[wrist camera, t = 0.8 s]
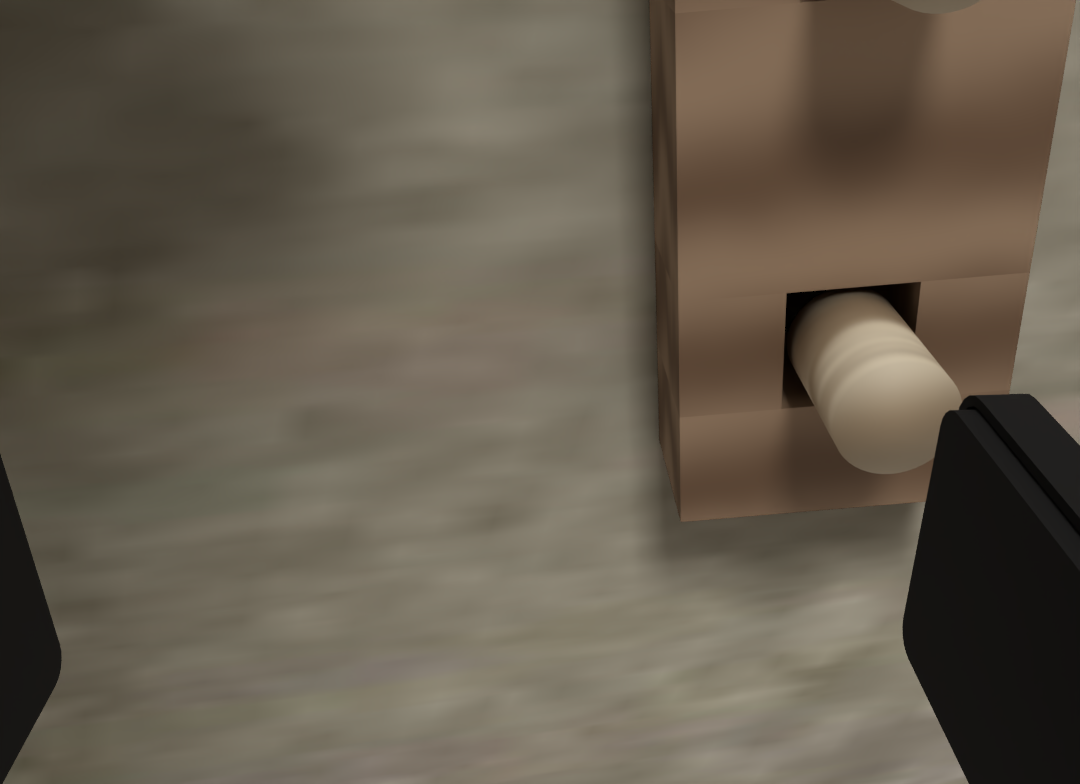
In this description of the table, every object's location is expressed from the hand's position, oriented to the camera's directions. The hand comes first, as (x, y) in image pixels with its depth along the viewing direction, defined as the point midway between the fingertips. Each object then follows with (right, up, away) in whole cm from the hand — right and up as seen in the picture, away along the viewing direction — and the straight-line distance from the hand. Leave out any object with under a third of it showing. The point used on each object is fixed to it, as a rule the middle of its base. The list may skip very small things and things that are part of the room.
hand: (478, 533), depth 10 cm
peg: (+11, +3, +26) cm, 29 cm away
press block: (+11, +12, +28) cm, 32 cm away
